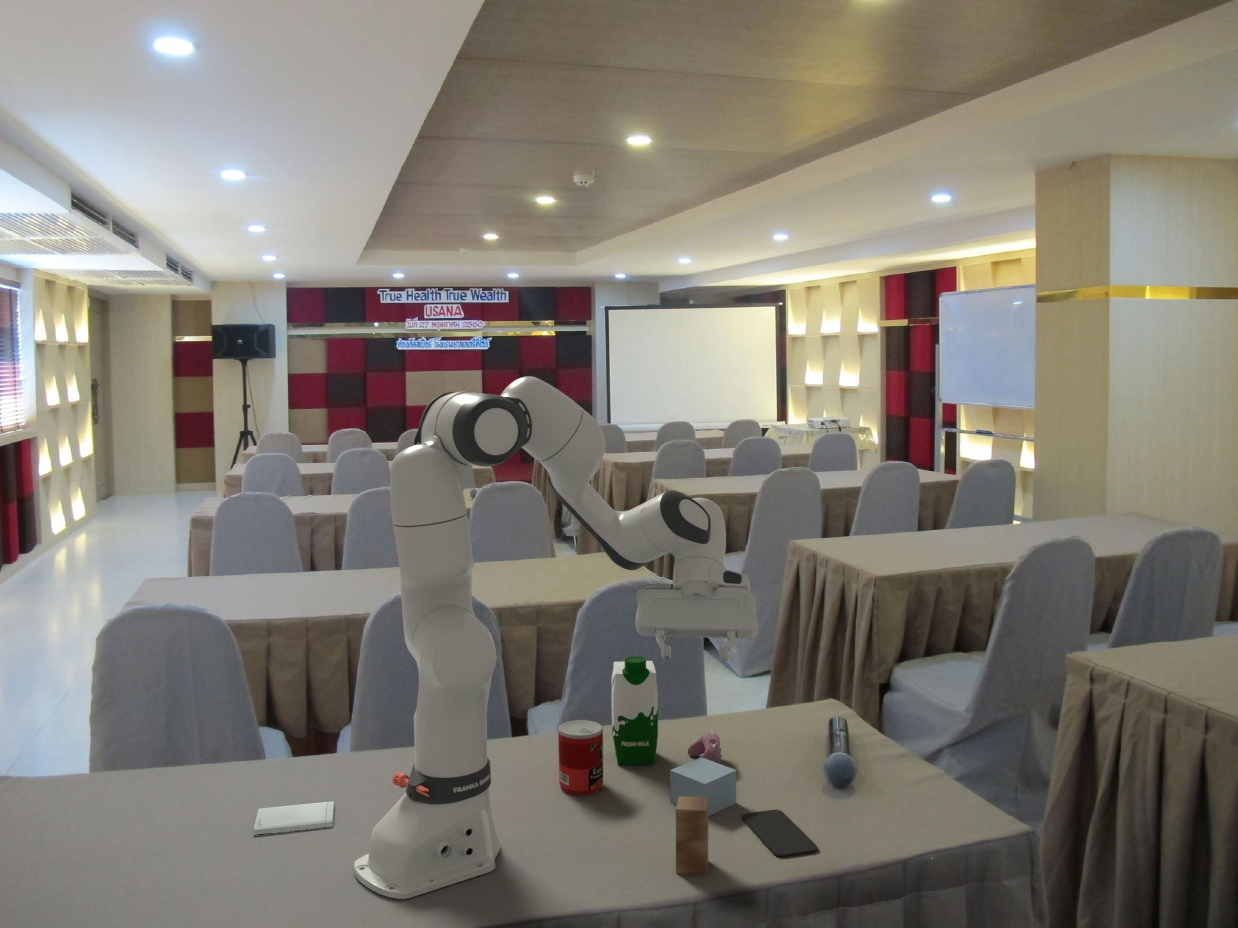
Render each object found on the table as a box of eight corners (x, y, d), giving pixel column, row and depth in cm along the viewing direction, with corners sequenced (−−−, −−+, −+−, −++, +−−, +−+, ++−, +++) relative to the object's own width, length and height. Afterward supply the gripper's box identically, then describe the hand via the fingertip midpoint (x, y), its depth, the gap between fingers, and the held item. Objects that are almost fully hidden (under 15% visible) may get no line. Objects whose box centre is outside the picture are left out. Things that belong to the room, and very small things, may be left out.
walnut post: (676, 873, 151) (675, 808, 149) (678, 858, 155) (678, 795, 154) (706, 875, 150) (706, 810, 149) (708, 860, 154) (708, 797, 153)
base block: (705, 818, 169) (705, 783, 168) (670, 803, 174) (670, 769, 174) (736, 803, 174) (736, 769, 173) (701, 789, 180) (701, 756, 179)
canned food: (598, 797, 177) (597, 736, 176) (554, 793, 178) (553, 733, 177) (607, 779, 184) (606, 720, 183) (565, 776, 186) (564, 718, 185)
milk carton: (613, 767, 189) (612, 663, 187) (611, 749, 198) (610, 649, 196) (660, 766, 190) (659, 662, 187) (655, 747, 199) (655, 648, 196)
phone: (779, 808, 171) (820, 848, 157) (779, 812, 171) (820, 853, 157) (739, 814, 169) (776, 855, 155) (739, 818, 169) (776, 860, 155)
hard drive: (252, 829, 164) (332, 820, 167) (258, 807, 172) (334, 798, 174) (253, 839, 164) (333, 829, 167) (258, 816, 172) (334, 808, 175)
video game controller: (710, 783, 186) (728, 750, 185) (688, 773, 185) (705, 740, 185) (706, 762, 195) (722, 730, 195) (685, 752, 195) (701, 720, 195)
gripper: (635, 574, 171) (628, 647, 163) (757, 576, 168) (757, 650, 160) (639, 593, 176) (633, 665, 168) (758, 595, 173) (757, 669, 165)
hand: (694, 658), depth 164 cm, fingers open, 8 cm apart
